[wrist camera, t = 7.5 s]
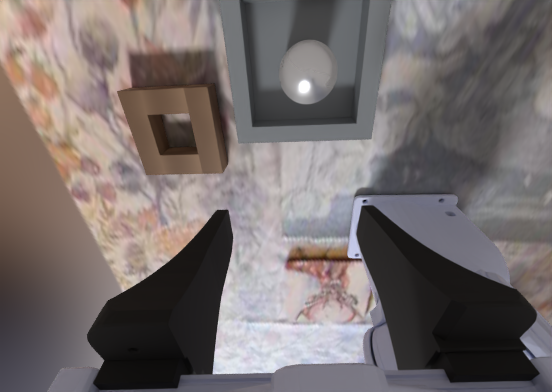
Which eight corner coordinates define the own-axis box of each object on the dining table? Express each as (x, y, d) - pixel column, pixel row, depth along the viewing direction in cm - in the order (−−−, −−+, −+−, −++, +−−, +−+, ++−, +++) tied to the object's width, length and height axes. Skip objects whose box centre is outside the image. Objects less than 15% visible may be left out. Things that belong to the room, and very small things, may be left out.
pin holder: (214, 83, 20) (207, 87, 18) (227, 164, 24) (222, 173, 22) (131, 87, 21) (116, 91, 19) (157, 165, 24) (146, 174, 22)
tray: (381, -29, 16) (397, -43, 13) (361, 127, 21) (371, 139, 19) (227, -16, 17) (215, -27, 14) (245, 131, 22) (238, 143, 19)
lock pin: (324, 41, 17) (340, 39, 11) (321, 85, 19) (334, 104, 13) (284, 42, 17) (278, 40, 11) (284, 86, 19) (279, 104, 13)
